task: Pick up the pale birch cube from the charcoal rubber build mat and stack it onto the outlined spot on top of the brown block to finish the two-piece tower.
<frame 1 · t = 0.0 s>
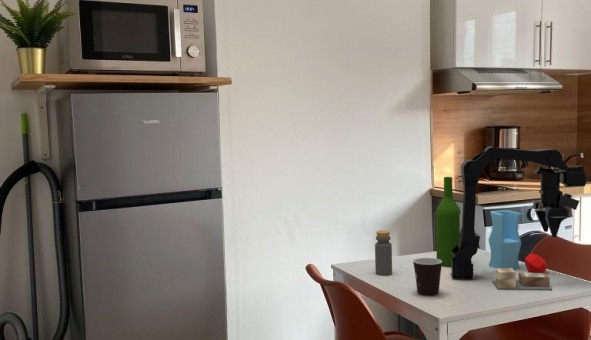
hand: (550, 234, 182), 15 cm above the table, fingers open, 9 cm apart
birch cube: (505, 285, 175), resting on build mat
wine bottle: (449, 264, 205), on the table
apple: (535, 272, 191), on the table
coffee mug: (429, 292, 173), on the table
brown block: (533, 284, 175), resting on build mat
build mat: (521, 285, 175), on the table
bottle: (383, 274, 195), on the table
vase: (504, 267, 199), on the table
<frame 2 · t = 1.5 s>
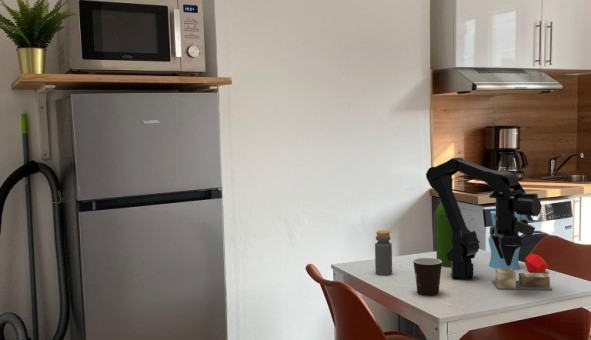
hand: (505, 261, 174), 8 cm above the table, fingers open, 9 cm apart
nothing on the table moved.
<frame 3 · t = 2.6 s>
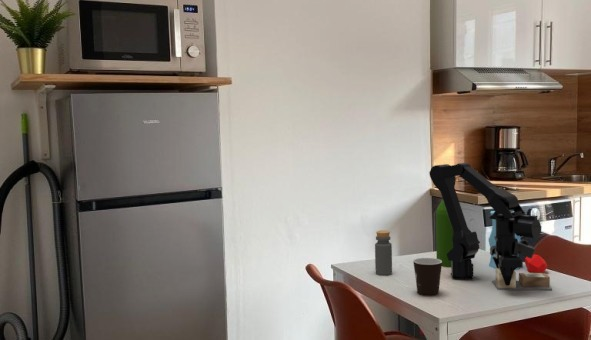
hand: (505, 282, 175), 1 cm above the table, fingers closed on birch cube, 5 cm apart
birch cube: (505, 285, 175), resting on build mat, touching gripper
everything else where it was.
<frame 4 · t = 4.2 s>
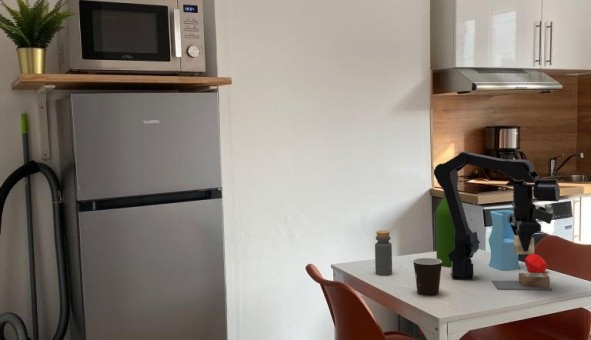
hand: (523, 249, 174), 12 cm above the table, fingers closed on birch cube, 5 cm apart
birch cube: (523, 252, 174), point 11 cm above the table, touching gripper
everything else where it was.
when the fingers open (5 cm above the table, at t = 6.0 s): birch cube stays where it is, resting on brown block.
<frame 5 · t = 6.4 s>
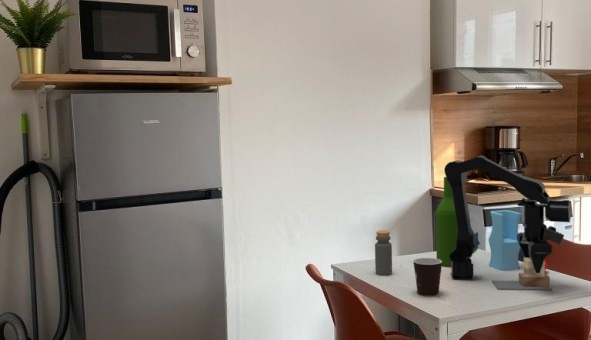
hand: (533, 269, 175), 5 cm above the table, fingers open, 9 cm apart
birch cube: (533, 274, 175), point 3 cm above the table, touching brown block
brown block: (533, 284, 175), resting on build mat, touching birch cube
everything else where it was.
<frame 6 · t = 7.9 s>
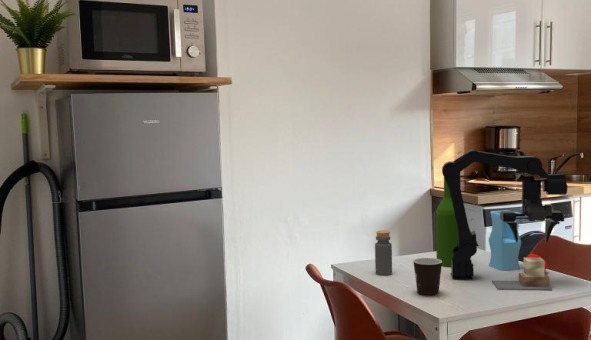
hand: (531, 242, 181), 12 cm above the table, fingers open, 9 cm apart
nothing on the table moved.
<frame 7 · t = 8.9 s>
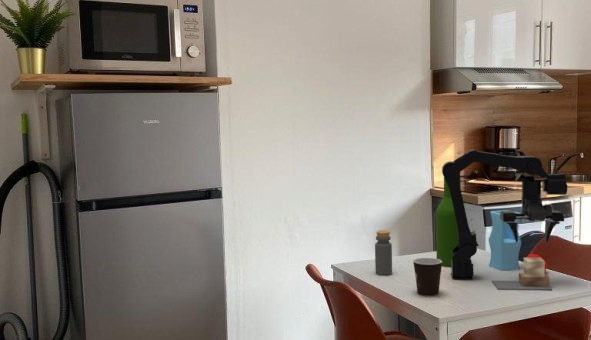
hand: (531, 242, 181), 12 cm above the table, fingers open, 9 cm apart
nothing on the table moved.
at the end: birch cube 0.0 cm off-centre on the brown block, point 3.0 cm above the brown block's base; birch cube tilted 0°; brown block moved 0.0 cm from its start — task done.
